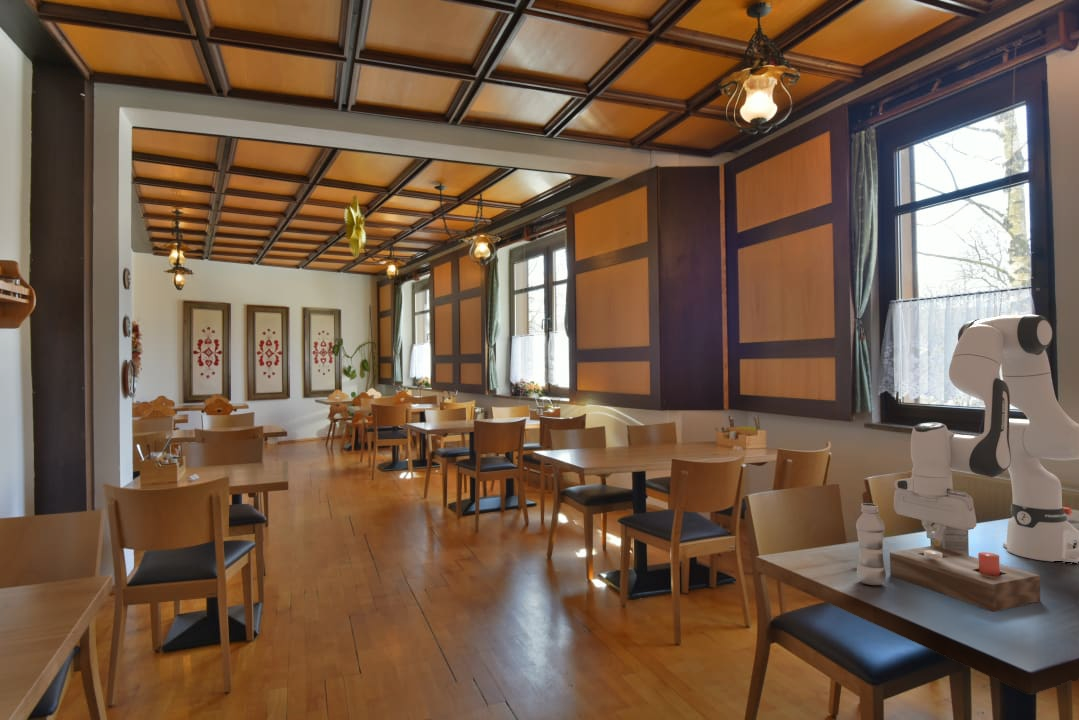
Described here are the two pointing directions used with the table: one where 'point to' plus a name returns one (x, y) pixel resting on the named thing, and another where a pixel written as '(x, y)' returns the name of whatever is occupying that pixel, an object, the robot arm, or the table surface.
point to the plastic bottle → (870, 546)
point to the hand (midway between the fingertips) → (934, 539)
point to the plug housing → (965, 578)
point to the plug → (933, 554)
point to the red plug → (989, 563)
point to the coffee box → (952, 540)
